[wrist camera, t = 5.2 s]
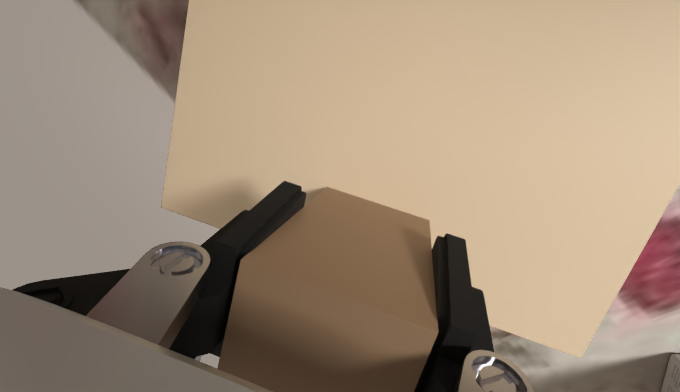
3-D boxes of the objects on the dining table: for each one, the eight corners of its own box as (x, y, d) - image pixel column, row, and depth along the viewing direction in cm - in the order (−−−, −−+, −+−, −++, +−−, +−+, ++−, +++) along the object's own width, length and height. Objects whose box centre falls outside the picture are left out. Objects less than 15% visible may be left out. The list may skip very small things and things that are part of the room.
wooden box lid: (802, -65, 10) (1838, -531, 3) (574, 347, 14) (742, 609, 7) (224, -176, 12) (-58, -583, 5) (169, 203, 16) (-32, 280, 9)
